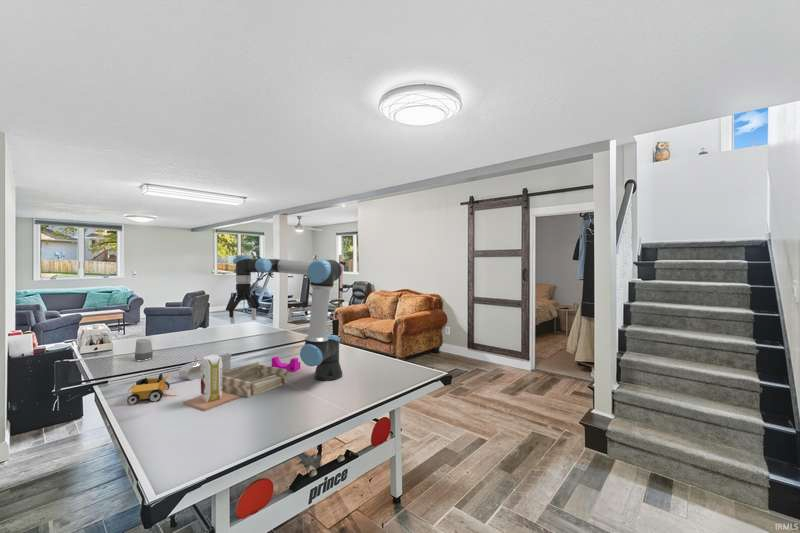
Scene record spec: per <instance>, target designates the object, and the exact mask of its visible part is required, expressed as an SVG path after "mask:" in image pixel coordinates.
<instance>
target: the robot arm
mask: <svg viewBox="0 0 800 533" xmlns="http://www.w3.org/2000/svg"><path fill="white" fill-rule="evenodd" d="M252 273H278V274H280V273H281V274H292V275H302V276H304V275H305V276H307V277H308V280H310V283H309V286H310V287H311V288H312V296H311V306H310V318H309V328H308V335H307V336H306V337H305V339H304V345H303V346H302V347H301V348H300V351H299V357H300V360H301V362H303V364H305V365H306V366H308V367H315V371H314V379H315V380H317V381H321V382H330V381H335V380H339V379H341V378H343V370H342V367H341V363H340V337H339V335H335V334H327V326H328V316H329V314H328V313H329V307H330V306H329V303H330V294H331V289H332V288H334V284H335V283H334V282H335V281H337V280H338V279H340V278H341V276H342V273H343V268H342V266H341V264H340V263H339V262H338V261H337V260H335V259H315V260H313V261H303V260H301V261H300V260H289V259H279V258H265V257H264V258H263V257H262V258H252V257H251V255H250V254H249V255H247V254H239V255H237V256H236V258H235V283H236V284H235V291H236V292H231V294H230V298H229V301H228V302H227V305H226V307H225V311H228V312H229V313H228V314H229V316H228V317H229V318H230V321H229V323H230V325H231V324H232V325H233V324H236V311H235V310H236V308H237V307H238V305H239V303H241V301H247V302H248V304H249V305H250V306H251V321H257V313H258V309H259V308H260V306H261V305H260V302H259V300H258V298H257V295H256V290H252V284H251V282H252V275H251V274H252Z"/></svg>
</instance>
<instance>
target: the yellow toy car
mask: <svg viewBox="0 0 800 533" xmlns="http://www.w3.org/2000/svg"><path fill="white" fill-rule="evenodd" d="M171 375H172V373H170V374H168V375H166V376H164V377H163V373H160V374H158V377H156V378H147V377H145V374H141V379H138V380H137V381H135V382H133V384H132V385H131V387H130V388H129V389H128V390H127V392H128V393H129V391H130V393H131V395H129V396H128V398H127V399H126V402H127V404H128V405H130V404H134V405H136V404H137V403H138V402H139V401H140V400H145V399H146V400H147V399H148V400H149V402H150V403H151V402H152V403H156V402H159V401H161V399H162V398H163V396H164V395H165V394H166V393H167V391H168V390H169V389H170V383H169V382H168V381H167V380H168V379H169V378H170V377H171Z"/></svg>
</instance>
